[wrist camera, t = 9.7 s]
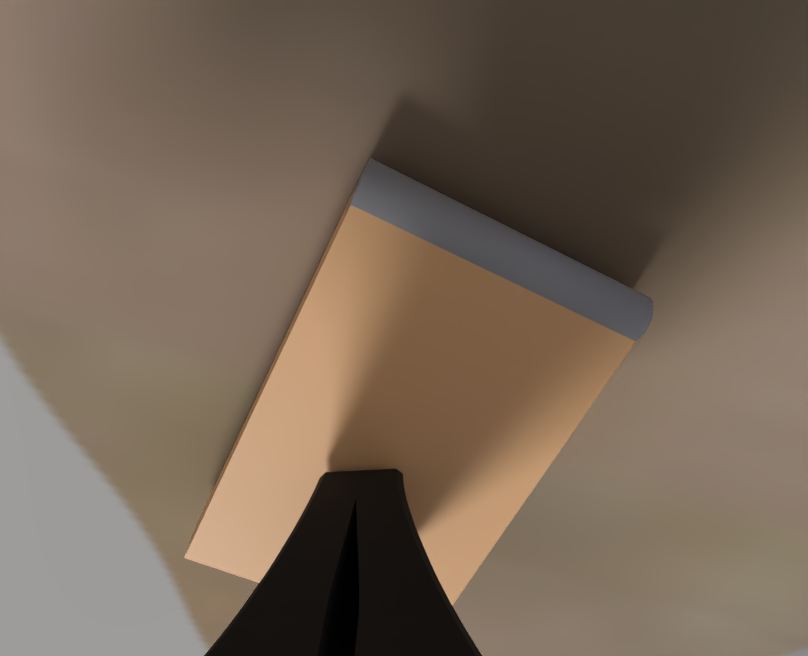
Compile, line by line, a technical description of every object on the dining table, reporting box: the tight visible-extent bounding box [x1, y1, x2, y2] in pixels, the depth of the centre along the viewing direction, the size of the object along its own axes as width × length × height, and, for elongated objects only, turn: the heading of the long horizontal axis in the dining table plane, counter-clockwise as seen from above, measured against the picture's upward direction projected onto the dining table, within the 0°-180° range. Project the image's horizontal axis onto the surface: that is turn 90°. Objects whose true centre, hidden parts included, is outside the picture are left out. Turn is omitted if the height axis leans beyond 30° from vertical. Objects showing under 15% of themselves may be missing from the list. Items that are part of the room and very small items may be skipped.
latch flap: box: [184, 158, 653, 605], centre depth 12 cm, size 5×8×1 cm, turn 153°
